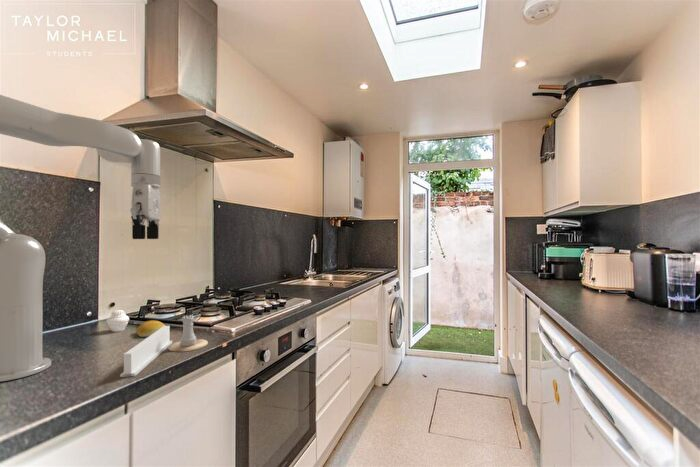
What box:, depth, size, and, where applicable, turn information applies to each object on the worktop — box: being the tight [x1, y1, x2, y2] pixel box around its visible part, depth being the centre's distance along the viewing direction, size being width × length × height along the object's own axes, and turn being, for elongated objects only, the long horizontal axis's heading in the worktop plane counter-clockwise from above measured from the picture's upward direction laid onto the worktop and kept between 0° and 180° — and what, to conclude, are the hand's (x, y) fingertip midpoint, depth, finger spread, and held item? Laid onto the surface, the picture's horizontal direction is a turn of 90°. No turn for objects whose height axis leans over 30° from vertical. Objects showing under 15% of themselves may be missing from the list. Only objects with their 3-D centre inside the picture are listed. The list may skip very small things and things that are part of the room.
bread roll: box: [136, 319, 167, 338], centre depth 108 cm, size 8×9×4 cm
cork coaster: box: [167, 338, 209, 353], centre depth 95 cm, size 10×10×1 cm
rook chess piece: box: [179, 314, 197, 347], centre depth 95 cm, size 4×4×8 cm
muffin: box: [106, 309, 130, 333], centre depth 111 cm, size 6×6×7 cm
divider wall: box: [119, 325, 173, 378], centre depth 86 cm, size 3×24×5 cm, turn 10°
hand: (146, 239), depth 100 cm, fingers open, 9 cm apart
